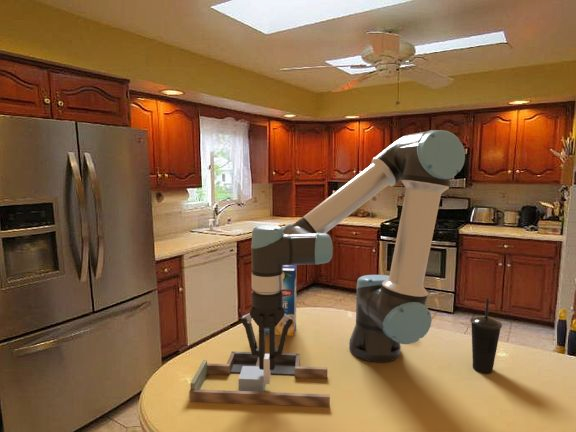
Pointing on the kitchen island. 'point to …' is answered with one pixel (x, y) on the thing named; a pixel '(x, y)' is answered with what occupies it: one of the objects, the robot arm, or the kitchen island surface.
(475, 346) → the drinking cup
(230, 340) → the kitchen island surface
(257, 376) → the gray block
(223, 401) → the trap lane
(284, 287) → the beverage box
